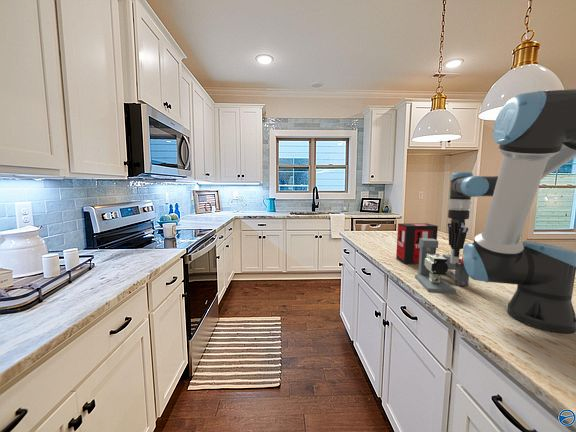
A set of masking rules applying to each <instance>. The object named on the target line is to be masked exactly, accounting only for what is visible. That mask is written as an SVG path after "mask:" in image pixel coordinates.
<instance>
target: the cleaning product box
mask: <svg viewBox="0 0 576 432" xmlns="http://www.w3.org/2000/svg"><path fill="white" fill-rule="evenodd" d="M438 229H439V226H438V225H437V224H436V225H435V224H431V223H420V222H419V223H405V222H404V223H397V236H396V237H397V239H396V240H397V241H396V255H395V256H396V257H395V259H396V260H397V261H399V262H400V263H402V264H403V265H419V254H420V245H419V238H428V239H435V240H437V241H438ZM434 253H437V248H435V251H434Z"/></svg>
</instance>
